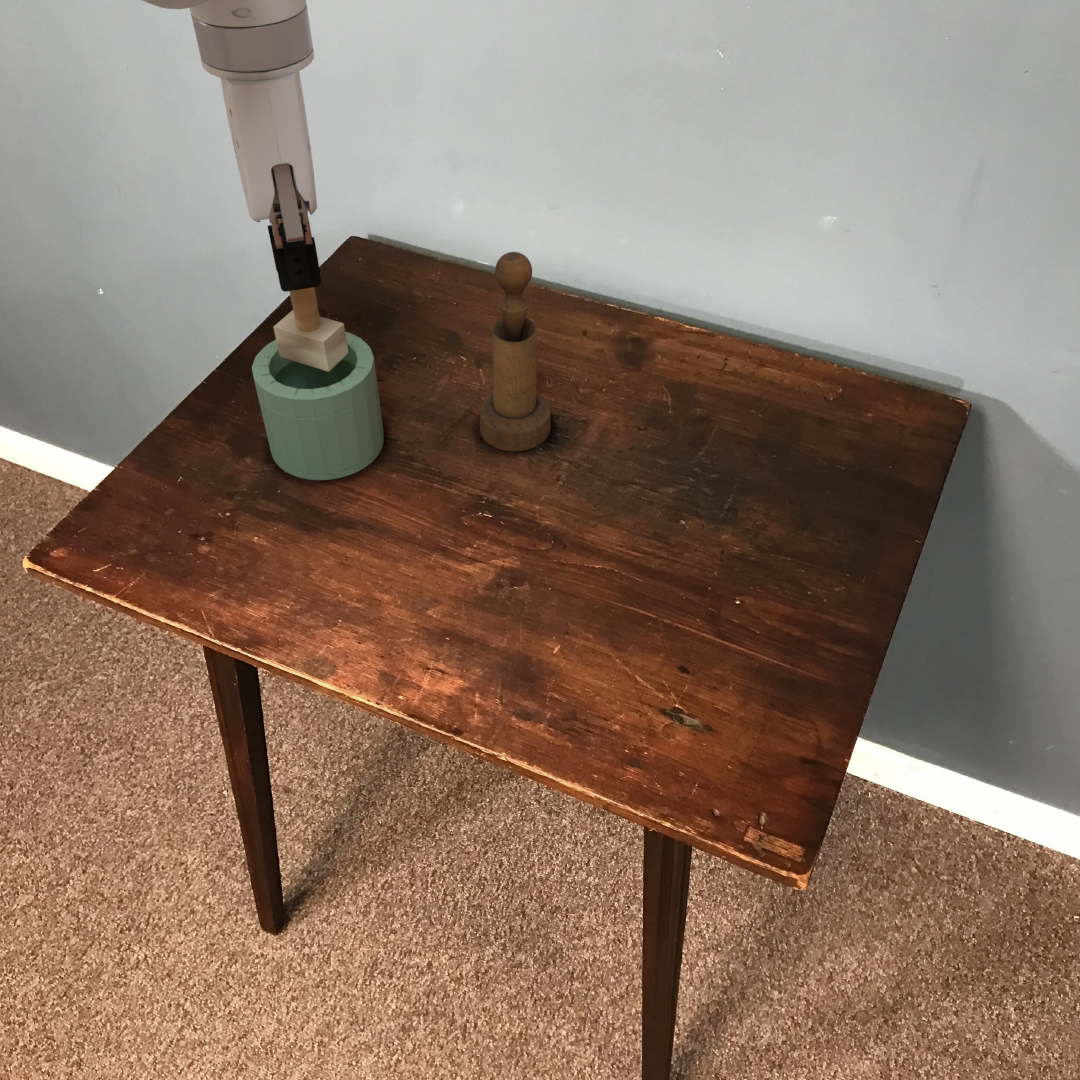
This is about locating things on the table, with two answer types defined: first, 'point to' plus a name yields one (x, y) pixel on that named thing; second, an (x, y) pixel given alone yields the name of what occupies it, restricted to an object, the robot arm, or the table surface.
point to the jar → (320, 412)
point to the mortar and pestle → (514, 368)
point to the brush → (310, 333)
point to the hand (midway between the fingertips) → (298, 276)
